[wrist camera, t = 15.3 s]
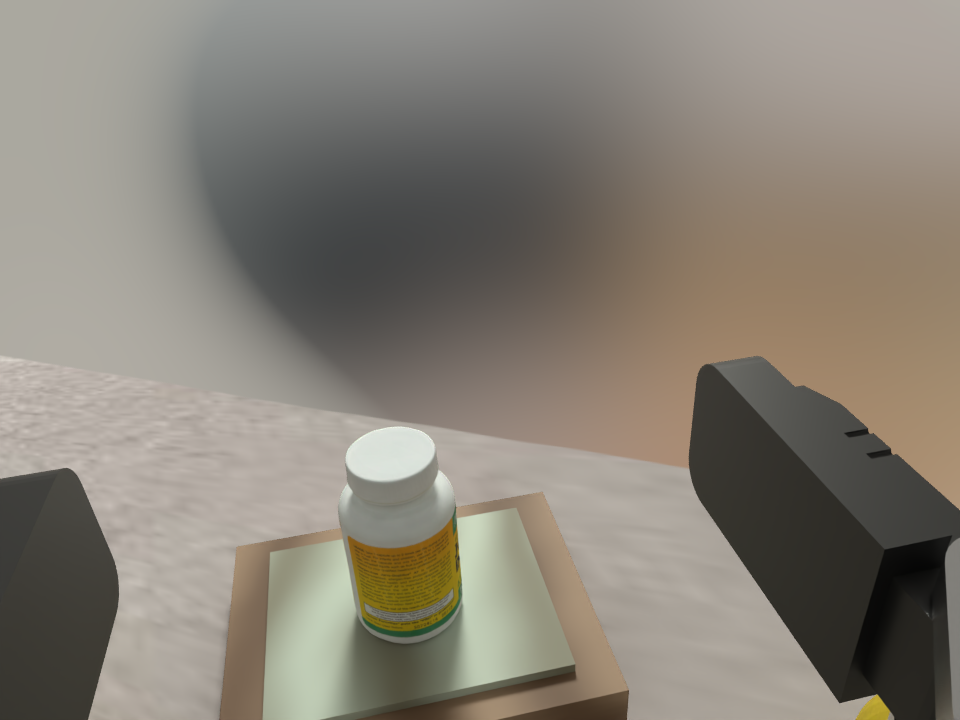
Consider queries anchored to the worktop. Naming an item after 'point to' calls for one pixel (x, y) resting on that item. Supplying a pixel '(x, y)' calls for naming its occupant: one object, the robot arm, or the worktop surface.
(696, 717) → the worktop surface
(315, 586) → the brown flat wooden block
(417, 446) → the supplement bottle
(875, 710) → the lemon
